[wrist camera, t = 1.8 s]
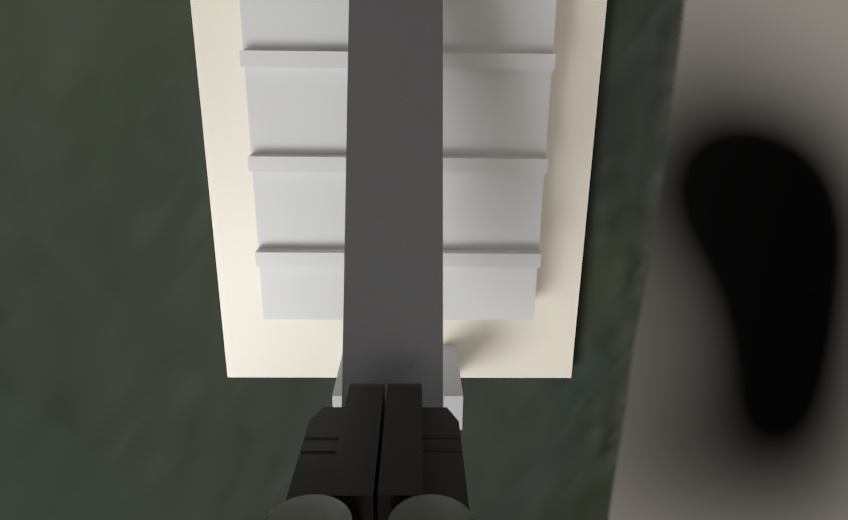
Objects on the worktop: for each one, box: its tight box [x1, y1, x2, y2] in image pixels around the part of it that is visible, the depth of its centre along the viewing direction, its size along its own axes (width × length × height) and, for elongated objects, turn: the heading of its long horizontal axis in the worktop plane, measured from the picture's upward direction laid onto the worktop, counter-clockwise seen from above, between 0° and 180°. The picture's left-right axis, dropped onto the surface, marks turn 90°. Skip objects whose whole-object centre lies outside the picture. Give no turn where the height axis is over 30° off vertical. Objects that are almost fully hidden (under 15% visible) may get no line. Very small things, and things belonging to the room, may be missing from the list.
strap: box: [342, 0, 443, 407], centre depth 20 cm, size 21×3×1 cm, turn 1°
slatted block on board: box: [190, 0, 607, 430], centre depth 26 cm, size 22×17×6 cm
